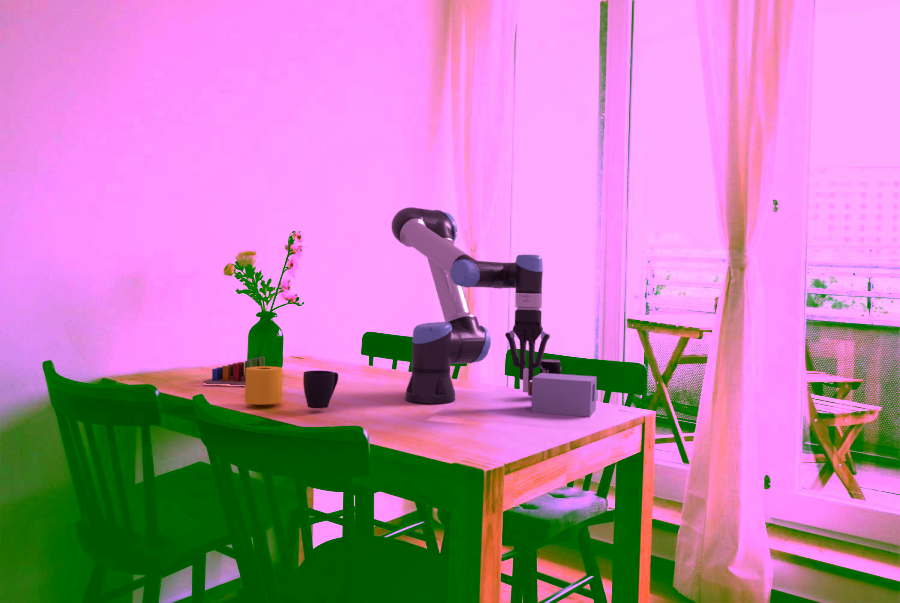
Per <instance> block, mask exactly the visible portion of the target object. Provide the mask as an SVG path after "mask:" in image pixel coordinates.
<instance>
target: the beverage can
mask: <svg viewBox="0 0 900 603" xmlns="http://www.w3.org/2000/svg"><path fill="white" fill-rule="evenodd" d="M560 362H561V361H560V360H559V359H542V362H541V365H540V366H539V374H540V373H550V374H562V365H561V363H560Z"/></svg>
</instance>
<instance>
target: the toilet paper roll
mask: <svg viewBox="0 0 900 603" xmlns="http://www.w3.org/2000/svg"><path fill="white" fill-rule="evenodd" d="M282 386H283V367H279V366H271V365H270V366H268V365H265V366H259V367H248V368H246V383H245V387H244V389H245V390H244V392H245V393H244V396H245V397H244V403H245V404H249V405H260V406H261V405H263V406H264V405H276V404H280V403H281V402H282V401H283V400H282V399H283V398H282V396H283V393H282V392H283V387H282Z"/></svg>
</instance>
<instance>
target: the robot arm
mask: <svg viewBox="0 0 900 603" xmlns="http://www.w3.org/2000/svg"><path fill="white" fill-rule="evenodd" d="M391 220H392V221H391V231H392V235H393V236H394V237H395V239H396V240H397V241H398V242H400V243H401V244H402V245H404V246H405V247H408V248H411V247H412V248H413V249H415V250H416V251H418V252H419V253H420V254H422V255H423V256H424V257H426V259H427V262H428V265H429V269H430V272H431V273H430V274H431V276H432V280H433V282H434V287H435V289H436V294H437V298H438V301H439V304H440V308H441V311H442V315H443V319H444V321H436V322H426V323H421V324H418V325H416V326H415V327H414V328H413V329H412V330H413V331H412V332H413V333H412V339H411V342H412V352H411V353H412V355H411V357H412V358H411V374H410V378H409V381H408V384H407V386H406V390H405V397H404V398H405V400H406V401H408V402H412V403H417V404H418V403H419V404H448V403H453V402H455V401H456V391H455V388H454V384H453V380H452V377H451V365H455V364H457V365H458V364H473V363H478V362H481V361H483V360H484V359H485V358H486V357H487V356H488V354H489V350H490V349H491V345H492V344H491V343H492V340H491V338H492V337H491V334H490V332H489V330H488V329H487V328H486V327H485V326H483V325H480V324H479V321H478V317H477V316H476V315H474V314H473V313H471V310H470V307H469V304H468V300H467V297H466V293H465V290H464V288H492V289H493V288H494V289H515V293H514V294H515V296H514V298H515V299H514V302H515V303H514V307H515V308H516V309H515V310H514V325H513V327H512V329H511V330H510V331H509V332H508V331H507V332H506V333H505V334H504V336H505V338H506V340H507V341H508V346H509V349H510V350H509V351H510V354H511V359H512V360H511V361H512V362H513V366H514V367H516V368H518V369H519V380H521V381H522V393H528V383H529V382H531V381H532V377H534V376H535V369H536V368H540V365H541V362H542V360H543V357H544V354H545V350H546V345H547V343H548V340H550V338H551V334H550V333H547V332H545V330H544V328H543V326H542V310H541V309H542V307H543V302H542V301H543V300H542V298H543V294H542V293H543V291H542V290H543V272H544V268H543V267H544V266H543V257H542V256H541V255H539V254H518V255H517V256H516V257H515V258H516V259H515V261H514V262H499V261H498V262H497V261H487V260H486V261H484V260H477V259H475V258H473V257H472V256H470V255H468V253H466V252H464V251H463V250H461V249H460V248H458V247H457V246H456V245H455V241H456V239H457V236H458V234H457V232H458V224H457V222H456V220H455V218H454V217H453V215H452V214H450V213H449V212H446V211H442V210H439V209H433V210H432V209H428V208H427V209H426V208H420V207H419V208H418V207H415V206H414V207H413V206H412V207H411V206H409V207H405V208H402V209H400V210H399V211H397V213H395V215H394V216H393V219H391ZM515 336H516V338H518V340H519V353H518V349H517V345H516V340H515ZM539 337H540V339H541V341H540V344H539V347H538V351H537V355H536V354H535V353H536V352H535V350H536V348H535V347H536V341H537V340H538V339H539ZM527 342H528V366H527V363H526V362H527V361H526V360H527ZM535 356H536V358H535Z"/></svg>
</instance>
